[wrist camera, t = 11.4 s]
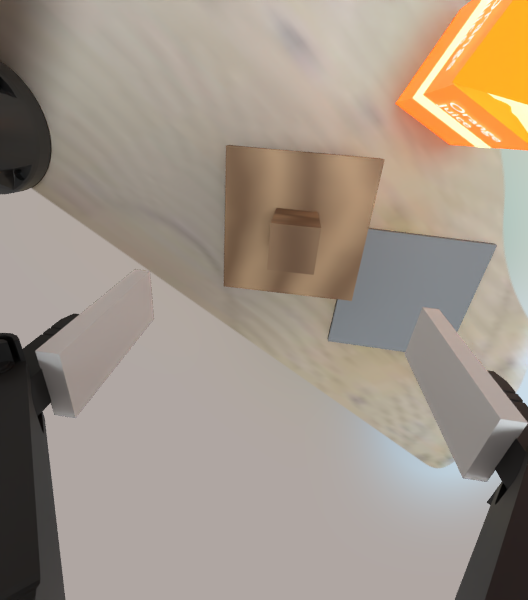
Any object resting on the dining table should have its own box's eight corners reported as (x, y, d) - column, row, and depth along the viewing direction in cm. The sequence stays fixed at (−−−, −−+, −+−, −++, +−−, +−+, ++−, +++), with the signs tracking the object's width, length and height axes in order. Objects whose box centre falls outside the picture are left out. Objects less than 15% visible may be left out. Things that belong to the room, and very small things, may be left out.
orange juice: (520, 59, 31) (816, -43, 13) (450, 146, 35) (603, 158, 17) (459, 6, 29) (694, -184, 12) (393, 103, 33) (495, 68, 16)
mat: (327, 338, 48) (328, 341, 47) (354, 226, 40) (354, 227, 39) (443, 355, 47) (445, 357, 46) (494, 243, 39) (497, 245, 38)
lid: (226, 281, 36) (209, 313, 30) (228, 145, 30) (208, 148, 23) (350, 295, 35) (360, 331, 29) (381, 158, 29) (403, 165, 22)
